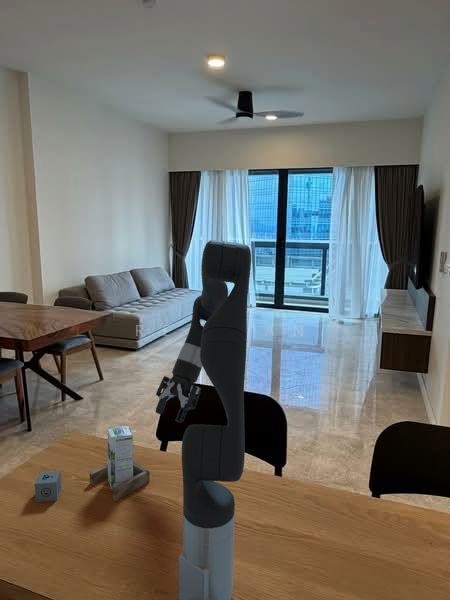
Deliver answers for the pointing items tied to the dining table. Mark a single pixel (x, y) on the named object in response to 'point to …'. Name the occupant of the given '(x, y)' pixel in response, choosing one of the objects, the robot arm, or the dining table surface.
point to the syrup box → (120, 455)
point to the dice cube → (48, 486)
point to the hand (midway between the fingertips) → (168, 417)
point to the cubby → (127, 486)
